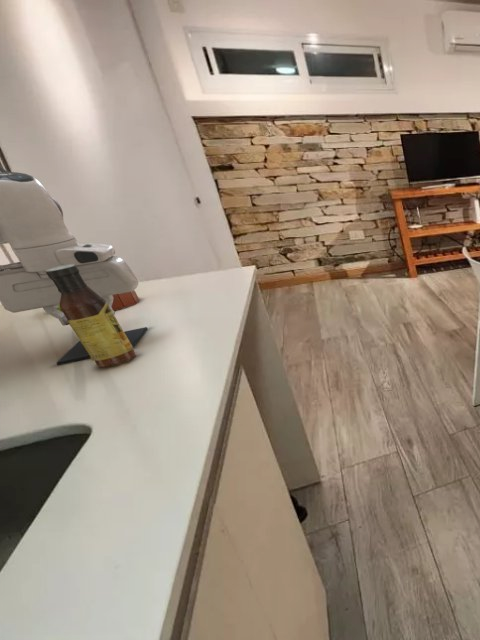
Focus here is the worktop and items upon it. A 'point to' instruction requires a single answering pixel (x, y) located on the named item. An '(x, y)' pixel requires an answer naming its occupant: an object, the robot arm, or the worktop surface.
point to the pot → (124, 300)
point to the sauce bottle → (91, 318)
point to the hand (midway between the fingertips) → (90, 320)
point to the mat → (80, 352)
